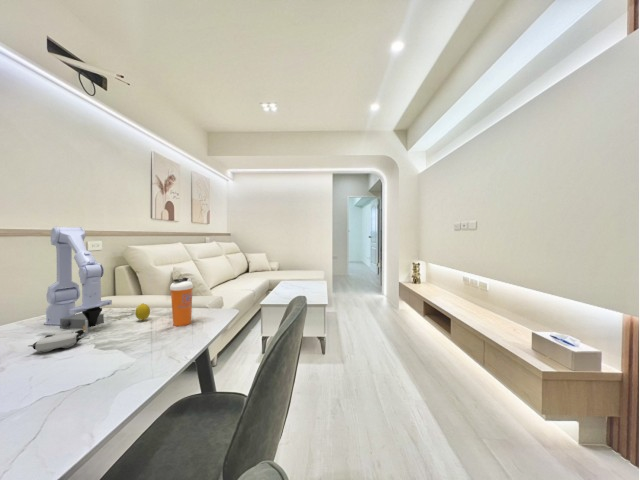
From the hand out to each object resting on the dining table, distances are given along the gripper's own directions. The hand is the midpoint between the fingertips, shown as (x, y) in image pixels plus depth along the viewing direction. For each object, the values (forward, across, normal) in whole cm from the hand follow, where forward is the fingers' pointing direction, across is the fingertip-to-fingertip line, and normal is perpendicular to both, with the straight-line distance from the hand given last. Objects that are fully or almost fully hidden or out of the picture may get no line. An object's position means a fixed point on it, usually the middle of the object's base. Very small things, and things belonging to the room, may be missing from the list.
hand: (92, 326), depth 103 cm
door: (+2, -1, +2) cm, 3 cm away
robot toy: (+2, -13, -4) cm, 14 cm away
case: (+2, +5, +12) cm, 13 cm away
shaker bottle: (+2, +14, -30) cm, 34 cm away
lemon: (+2, +14, -9) cm, 17 cm away
